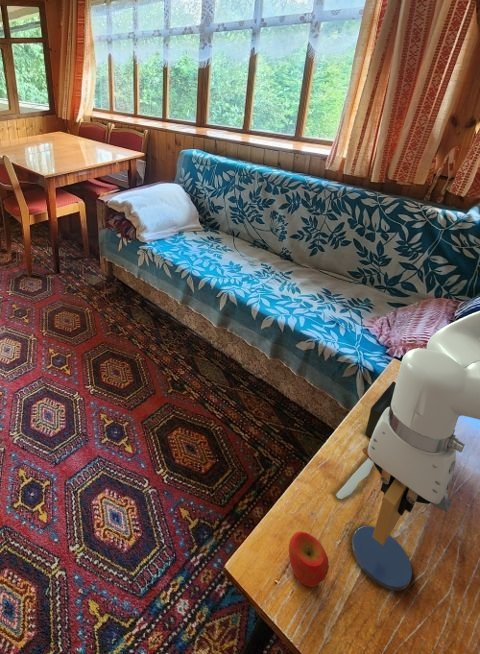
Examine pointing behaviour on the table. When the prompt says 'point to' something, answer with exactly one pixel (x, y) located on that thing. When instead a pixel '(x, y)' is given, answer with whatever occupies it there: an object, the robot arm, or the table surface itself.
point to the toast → (389, 511)
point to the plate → (382, 559)
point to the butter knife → (355, 479)
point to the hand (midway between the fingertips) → (395, 502)
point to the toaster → (379, 409)
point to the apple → (308, 559)
